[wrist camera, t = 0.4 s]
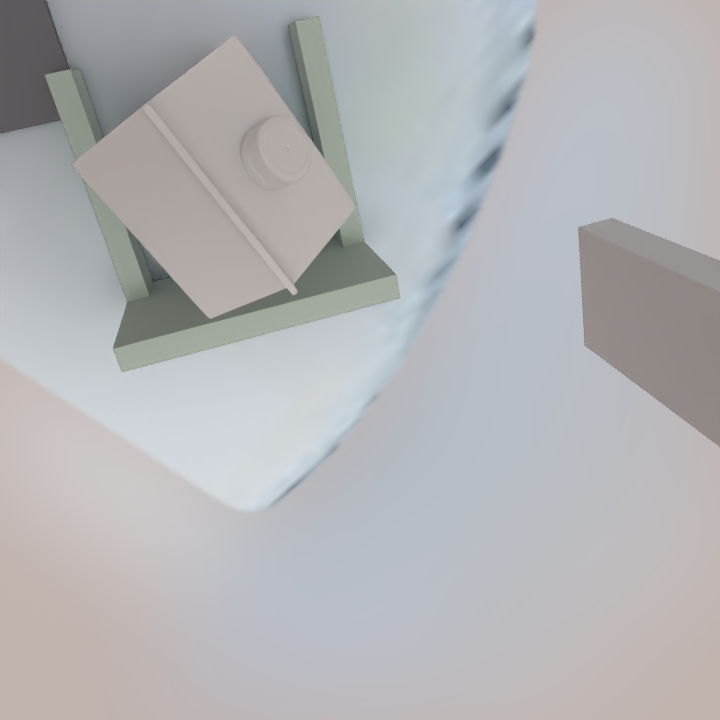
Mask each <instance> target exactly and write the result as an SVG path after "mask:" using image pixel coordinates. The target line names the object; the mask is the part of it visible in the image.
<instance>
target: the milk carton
mask: <svg viewBox="0 0 720 720" xmlns="http://www.w3.org/2000/svg"><path fill="white" fill-rule="evenodd" d="M72 165H73V167H74V168H75V169H76V171H77V172H78V173H79V174H80V175H81V177H82V178H83V179H84V180H85V181H86V182H87V183H88V185H89V186H90V187H91V188H92V189H93V190H94V191H95V192H96V194H97V195H98V196H99V197H100V198H101V199H102V200H103V201H104V203H105V204H106V205H107V206H108V207H109V208H110V209H111V210H112V211H113V213H114V214H115V215H116V216H117V217H118V218H119V219H120V220H121V222H122V223H123V224H124V225H125V226H126V227H127V228H128V229H129V230H130V232H131V233H132V234H133V235H134V236H135V237H136V238H137V239H138V241H139V242H140V243H141V244H142V245H143V246H144V247H145V248H146V249H147V251H148V252H149V253H150V254H151V255H152V256H153V257H154V258H155V260H156V261H157V262H158V263H159V264H160V265H161V266H162V267H163V268H164V270H165V271H166V272H167V273H168V274H169V275H170V276H171V277H172V279H173V280H174V281H175V282H176V283H177V284H178V285H179V286H180V287H181V289H182V290H183V291H184V292H185V293H186V294H187V295H188V296H189V298H190V299H191V300H192V301H193V302H194V303H195V304H196V305H197V306H198V307H199V309H200V310H201V311H202V312H203V313H204V314H205V315H206V316H207V317H208V318H210V319H211V318H214V317H216V316H219V315H221V314H223V313H226V312H228V311H231V310H233V309H236V308H238V307H241V306H243V305H246V304H248V303H251V302H253V301H256V300H258V299H261V298H263V297H266V296H268V295H271V294H273V293H276V292H278V291H281V290H283V289H286V288H287V289H288V290H289V291H290V292H291V294H292V295H295V294H296V293H297V289H296V287H295V285H294V283H295V282H296V281H297V280H298V278H299V277H300V276H301V275H302V273H303V272H304V271H305V270H306V269H307V267H308V266H309V265H310V264H311V262H312V261H313V260H314V259H315V258H316V256H317V255H318V254H319V253H320V251H321V250H322V249H323V248H324V246H325V245H326V244H327V243H328V242H329V240H330V239H331V238H332V237H333V235H334V234H335V233H336V232H337V231H338V229H339V228H340V227H341V226H342V224H343V223H344V222H345V221H346V219H347V218H348V217H349V216H350V215H351V213H352V212H353V211H354V209H355V205H354V202H353V201H352V199H351V197H350V196H349V194H348V193H347V191H346V189H345V188H344V186H343V185H342V184H341V182H340V181H339V179H338V178H337V176H336V175H335V173H334V172H333V170H332V169H331V168H330V166H329V165H328V163H327V162H326V160H325V159H324V158H323V156H322V155H321V153H320V152H319V150H318V149H317V148H316V146H315V145H314V143H313V142H312V140H311V139H310V138H309V136H308V135H307V133H306V132H305V130H304V129H303V128H302V126H301V125H300V123H299V122H298V120H297V119H296V118H295V116H294V115H293V113H292V112H291V110H290V109H289V107H288V106H287V105H286V103H285V102H284V100H283V99H282V97H281V96H280V95H279V93H278V92H277V90H276V89H275V87H274V86H273V85H272V83H271V82H270V80H269V79H268V77H267V76H266V75H265V73H264V72H263V70H262V69H261V67H260V66H259V65H258V63H257V62H256V60H255V59H254V58H253V56H252V55H251V54H250V52H249V51H248V49H247V48H246V47H245V45H244V44H243V43H242V42H241V41H240V39H239V38H238V37H236V36H235V35H233V36H232V37H231V38H229V39H228V40H227V41H225V42H224V43H223V44H222V45H220V46H219V47H218V48H216V49H215V50H214V51H213V52H211V53H210V54H209V55H207V56H206V57H205V58H204V59H202V60H201V61H200V62H198V63H197V64H196V65H195V66H193V67H192V68H191V69H189V70H188V71H187V72H186V73H184V74H183V75H182V76H180V77H179V78H178V79H176V80H175V81H174V82H173V83H171V84H170V85H169V86H167V87H166V88H165V89H164V90H162V91H161V92H160V93H158V94H157V95H156V96H155V97H153V98H152V99H151V100H149V101H148V102H146V103H145V104H144V105H142V107H141V108H139V109H138V110H137V111H136V112H135V113H133V114H132V115H131V116H130V117H128V118H127V119H126V120H125V121H124V122H122V123H121V124H120V125H119V126H117V127H116V128H115V129H114V130H112V131H111V132H110V133H109V134H108V135H106V136H105V137H104V138H103V139H101V140H100V141H99V142H98V143H97V144H95V145H94V146H93V147H92V148H90V149H89V150H88V151H87V152H85V153H84V154H83V155H82V156H81V157H79V158H78V159H77V160H76V161H74V162H73V163H72Z"/></svg>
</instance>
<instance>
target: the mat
mask: <svg viewBox="0 0 720 720" xmlns="http://www.w3.org/2000/svg"><path fill="white" fill-rule="evenodd" d="M65 70H69V66H68V63H67V61H66V58H65V55H64V52H63V49H62V46H61V43H60V41H59V38H58V35H57V32H56V29H55V26H54V23H53V21H52V18H51V15H50V12H49V9H48V6H47V3H46V1H45V0H0V133H4V132H9V131H13V130H18V129H22V128H27V127H31V126H36V125H40V124H45V123H49V122H54V121H58V120H61V118H60V116H59V113H58V110H57V107H56V105H55V102H54V99H53V96H52V94H51V91H50V88H49V85H48V83H47V80H46V77H45V75H46V74H51V73H55V72H60V71H65Z"/></svg>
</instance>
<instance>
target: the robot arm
mask: <svg viewBox="0 0 720 720" xmlns="http://www.w3.org/2000/svg"><path fill="white" fill-rule="evenodd" d="M578 231H579V251H580V268H581V287H582V306H583V324H584V342H585V346H586V347H588V348H589V349H590V350H592V351H593V352H594V353H596V354H597V355H598V356H600V357H601V358H602V359H604V360H605V361H606V362H608V363H609V364H610V365H612V366H613V367H614V368H615V369H617V370H618V371H619V372H621V373H622V374H624V375H625V376H626V377H628V378H629V379H630V380H631V381H633V382H634V383H635V384H637V385H638V386H639V387H641V388H642V389H643V390H645V391H646V392H648V393H649V394H650V395H651V396H653V397H654V398H655V399H657V400H658V401H659V402H661V403H663V404H664V405H665V406H666V407H667V408H669V409H670V410H671V411H673V412H674V413H675V414H677V415H678V416H680V417H681V418H682V419H684V420H685V421H686V422H687V423H689V424H690V425H691V426H693V427H694V428H696V429H697V430H698V431H699V432H701V433H702V434H703V435H705V436H706V437H707V438H709V439H710V440H712V441H713V442H714V443H715V444H717V445H718V446H719V447H720V261H719V260H717V259H714V258H712V257H709V256H707V255H704V254H701V253H699V252H696V251H694V250H691V249H689V248H686V247H684V246H681V245H679V244H676V243H674V242H671V241H669V240H666V239H664V238H661V237H659V236H656V235H653V234H651V233H649V232H646V231H643V230H641V229H638V228H636V227H634V226H631V225H628V224H626V223H623V222H621V221H618V220H616V219H613V218H611V219H607V220H603V221H599V222H596V223H592V224H588V225H584V226H581V227H578Z"/></svg>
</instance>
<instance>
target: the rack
mask: <svg viewBox="0 0 720 720" xmlns="http://www.w3.org/2000/svg"><path fill="white" fill-rule="evenodd" d="M288 27H289V31H290V36H291V40H292V45H293V50H294V54H295V59H296V63H297V68H298V73H299V77H300V82H301V86H302V91H303V95H304V100H305V105H306V109H307V114H308V118H309V123H310V128H311V132H312V137H313V141H314V145H315V146H316V148H317V149H318V150H319V152H320V153H321V155H322V156H323V158H324V159H325V160H326V162H327V163H328V165H329V166H330V168H331V169H332V170H333V172H334V173H335V175H336V176H337V178H338V179H339V181H340V182H341V184H342V185H343V186H344V188H345V189H346V191H347V193H348V194H349V196H350V197H351V199H352V201H353V202H354V205H355V209H354V211H353V212H352V213H351V215H350V216H349V217H348V218H347V219H346V221H345V222H344V223H343V224H342V226H341V227H340V228H339V229H338V231H337V232H336V233H335V234H334V236H333V237H332V238H331V239H330V240H329V242H328V243H327V244H326V245H325V246H324V248H323V249H322V250H321V251H320V253H319V254H318V255H317V256H316V258H315V259H314V260H313V261H312V262H311V264H310V265H309V266H308V267H307V269H306V270H305V271H304V272H303V273H302V275H301V276H300V277H299V278H298V280H297V281H296V282H295V283H294V285H295V287H296V289H297V293H296V294H295V295H292V294H291V292H290V291H289V290H288V289H287V288H286V289H283V290H281V291H278V292H276V293H273V294H271V295H268V296H266V297H263V298H261V299H258V300H256V301H253V302H251V303H248V304H246V305H243V306H241V307H238V308H236V309H233V310H231V311H228V312H226V313H223V314H221V315H219V316H216V317H214V318H211V319H210V318H208V317H207V316H206V315H205V314H204V313H203V312H202V311H201V310H200V309H199V307H198V306H197V305H196V304H195V303H194V302H193V301H192V300H191V299H190V298H189V296H188V295H187V294H186V293H185V292H184V291H183V290H182V289H181V287H180V286H179V285H178V284H177V283H176V282H175V281H174V280H173V279H172V277H168V278H164V279H160V280H156V281H153V280H152V277H151V274H150V271H149V268H148V265H147V262H146V260H145V257H144V254H143V251H142V248H141V245H140V242H139V241H138V239H137V238H136V237H135V236H134V235H133V234H132V233H131V232H130V230H129V229H128V228H127V227H126V226H125V225H124V224H123V223H122V222H121V220H120V219H119V218H118V217H117V216H116V215H115V214H114V213H113V211H112V210H111V209H110V208H109V207H108V206H107V205H106V204H105V203H104V201H103V200H102V199H101V198H100V197H99V196H98V195H97V194H96V192H95V191H94V190H93V189H92V188H91V187H90V186H89V185H88V183H87V182H86V181H85V180H84V179H83V178H82V179H83V181H84V184H85V187H86V189H87V192H88V195H89V198H90V200H91V203H92V206H93V209H94V211H95V214H96V217H97V220H98V222H99V225H100V228H101V230H102V233H103V236H104V239H105V241H106V244H107V247H108V250H109V252H110V255H111V258H112V261H113V263H114V266H115V269H116V272H117V274H118V277H119V280H120V282H121V285H122V288H123V291H124V293H125V296H126V299H127V305H126V309H125V312H124V315H123V318H122V321H121V324H120V328H119V331H118V334H117V337H116V340H115V343H114V347H113V351H114V353H115V356H116V358H117V361H118V364H119V366H120V369H121V371H122V372H125V371H129V370H132V369H136V368H140V367H144V366H147V365H151V364H155V363H159V362H162V361H166V360H170V359H174V358H177V357H181V356H185V355H189V354H192V353H196V352H200V351H204V350H207V349H211V348H215V347H219V346H222V345H226V344H230V343H234V342H237V341H241V340H245V339H249V338H252V337H256V336H260V335H264V334H267V333H271V332H275V331H279V330H282V329H286V328H290V327H294V326H297V325H301V324H305V323H309V322H312V321H316V320H320V319H324V318H327V317H331V316H335V315H339V314H342V313H346V312H350V311H354V310H357V309H361V308H365V307H369V306H372V305H376V304H380V303H384V302H387V301H391V300H395V299H399V298H400V293H399V287H398V282H397V276H396V274H395V273H394V272H393V271H392V270H391V269H390V268H389V267H388V266H387V265H386V264H385V263H384V262H383V261H382V260H381V259H380V258H379V256H378V255H377V254H376V253H375V252H374V251H373V250H372V249H371V248H370V247H369V246H368V245H367V244H366V243H365V242H364V239H363V234H362V229H361V224H360V219H359V214H358V209H357V204H356V199H355V194H354V189H353V184H352V179H351V174H350V169H349V164H348V159H347V154H346V149H345V144H344V139H343V134H342V129H341V124H340V119H339V114H338V109H337V104H336V99H335V94H334V89H333V84H332V79H331V74H330V69H329V64H328V59H327V54H326V49H325V44H324V39H323V34H322V29H321V24H320V19H319V16H317V17H313V18H308V19H303V20H299V21H295V22H293V23H291V24H289V25H288ZM45 77H46V80H47V83H48V85H49V88H50V91H51V94H52V96H53V99H54V102H55V105H56V107H57V110H58V113H59V116H60V118H61V121H62V124H63V127H64V129H65V132H66V135H67V137H68V140H69V143H70V146H71V148H72V151H73V154H74V157H75V159H76V160H77V159H78V158H79V157H81V156H82V155H83V154H84V153H85V152H87V151H88V150H89V149H90V148H92V147H93V146H94V145H95V144H97V143H98V142H99V141H100V140H101V139H103V138H104V137H103V134H102V132H101V129H100V126H99V123H98V120H97V117H96V114H95V111H94V108H93V105H92V102H91V100H90V97H89V94H88V91H87V88H86V85H85V82H84V79H83V76H82V73H81V70H76V69H69V70H65V71H60V72H55V73H51V74H46V75H45Z"/></svg>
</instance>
